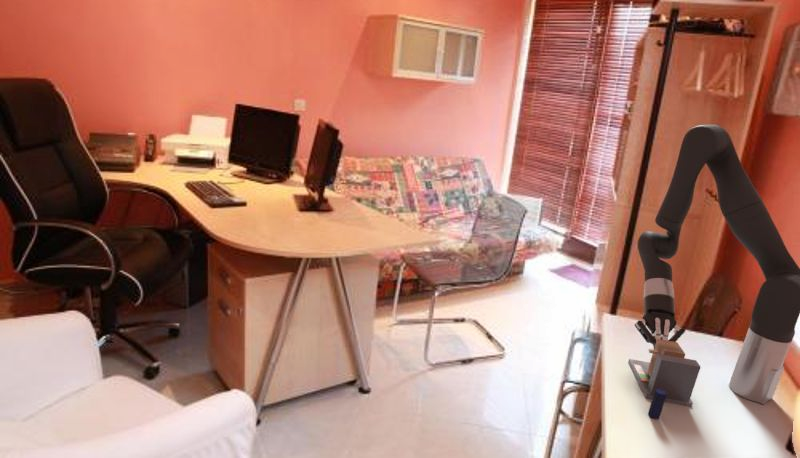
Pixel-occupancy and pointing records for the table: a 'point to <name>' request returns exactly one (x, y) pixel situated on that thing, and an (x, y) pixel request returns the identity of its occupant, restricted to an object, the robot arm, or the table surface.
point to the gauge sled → (664, 352)
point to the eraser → (657, 404)
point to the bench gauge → (667, 377)
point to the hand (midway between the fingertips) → (660, 359)
